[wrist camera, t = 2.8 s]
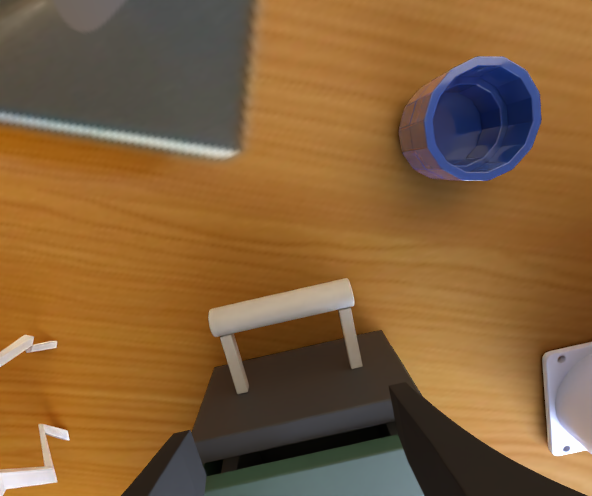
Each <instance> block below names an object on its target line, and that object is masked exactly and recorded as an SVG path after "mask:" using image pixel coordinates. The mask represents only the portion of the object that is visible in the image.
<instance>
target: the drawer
mask: <svg viewBox="0 0 592 496" xmlns="http://www.w3.org/2000/svg"><path fill="white" fill-rule="evenodd" d="M354 304H355V302H354V296H353V291H352V288H351V284H350V282H349V280H348V278H344V279H340V280H335V281H331V282H327V283H322V284H318V285H314V286H309V287H305V288H300V289H296V290H292V291H287V292H283V293H279V294H274V295H270V296H265V297H261V298H257V299H252V300H248V301H243V302H239V303H235V304H230V305H226V306H222V307H217V308H213V309H210V310H209V314H208V321H209V327H210V330H211V333H212V334H213V336H214V337H219V336H221V337H220V340H221V343H222V346H223V349H224V353H225V356H226V359H227V363H228V365H223V366H219V367H215V368H214V370H213V373H212V376H211V378H210V381H209V384H208V387H207V390H206V393H205V395H204V398H203V401H202V404H201V407H200V410H199V412H198V415H197V418H196V421H195V424H194V427H193V429H192V432H191V433H192V436H193V439H194V442H195V445H196V448H197V450H198V453H199V456H200V459H201V462H202V464H204V463H208V462H213V461H217V460H222V459H224V460H223V465H222V470H221V473H224V472H229V471H233V470H238V469H242V468H247V467H251V466H256V465H261V464H265V463H270V462H274V461H279V460H283V459H288V458H292V457H297V456H302V455H306V454H311V453H315V452H320V451H324V450H329V449H333V448H338V447H342V446H347V445H352V444H356V443H361V442H365V441H370V440H374V439H379V438H383V437H388V436H392V435H397V434H398V433H397V428H396V423H395V417H394V412H393V407H392V402H391V396H390V391H389V385H393V384H398V383H402V382H407V383H408V384H409V385H410V386H412V387H413V388H414V389H415V390H416V391H417V392H418V393H419V394H420V392H419V391H418V389H417V388H416V386H415V384H414V383H413V381H412V379H411V378H410V376H409V374H408V373H407V371H406V370H405V368H404V366H403V365H402V363H401V361H400V360H399V358H398V356H397V355H396V353H395V352H394V350H393V348H392V347H391V345H390V343H389V342H388V340H387V338H386V337H385V335H384V334H383V332H382V330H379V331H374V332H370V333H365V334H361V335H356V331H355V326H354V321H353V316H352V311H351V308H350V307H351V306H354ZM334 310H338V312H339V317H340V322H341V326H342V331H343V336H344V338H343V339H339V340H334V341H330V342H325V343H321V344H316V345H312V346H308V347H303V348H299V349H294V350H290V351H285V352H281V353H276V354H272V355H268V356H263V357H259V358H254V359H250V360H245V361H242V359H241V356H240V353H239V349H238V346H237V343H236V339H235V336H234V333H237V332H241V331H246V330H250V329H254V328H259V327H263V326H268V325H272V324H276V323H281V322H285V321H290V320H294V319H298V318H303V317H307V316H312V315H316V314H320V313H325V312H329V311H334Z"/></svg>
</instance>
